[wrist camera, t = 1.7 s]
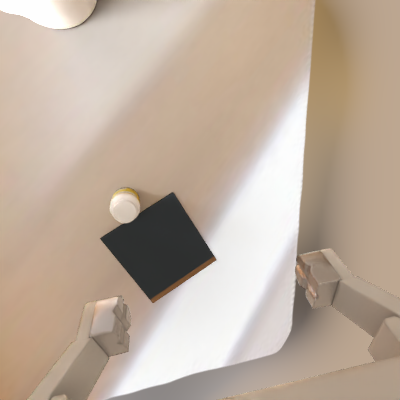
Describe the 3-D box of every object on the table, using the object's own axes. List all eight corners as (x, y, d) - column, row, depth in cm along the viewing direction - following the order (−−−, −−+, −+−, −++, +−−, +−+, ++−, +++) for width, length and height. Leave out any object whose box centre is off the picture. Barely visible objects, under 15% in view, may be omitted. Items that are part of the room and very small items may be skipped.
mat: (100, 238, 52) (100, 238, 52) (172, 192, 54) (173, 192, 53) (152, 302, 59) (153, 303, 58) (216, 259, 60) (216, 260, 60)
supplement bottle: (133, 215, 53) (132, 232, 44) (108, 206, 51) (102, 220, 42) (143, 193, 52) (145, 204, 43) (118, 182, 50) (115, 192, 41)
